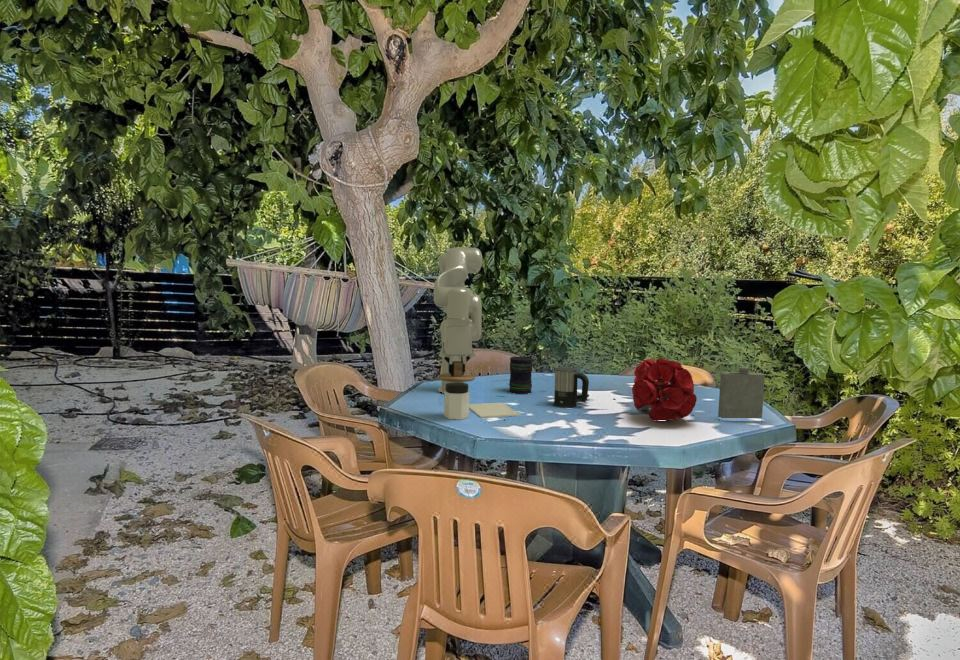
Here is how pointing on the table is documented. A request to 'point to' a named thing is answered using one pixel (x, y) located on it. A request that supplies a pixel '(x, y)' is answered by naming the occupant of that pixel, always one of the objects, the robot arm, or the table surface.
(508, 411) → the placemat
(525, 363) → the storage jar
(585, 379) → the milk frother
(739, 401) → the hip flask
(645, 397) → the bouquet
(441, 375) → the lid
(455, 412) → the jar
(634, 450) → the table surface
